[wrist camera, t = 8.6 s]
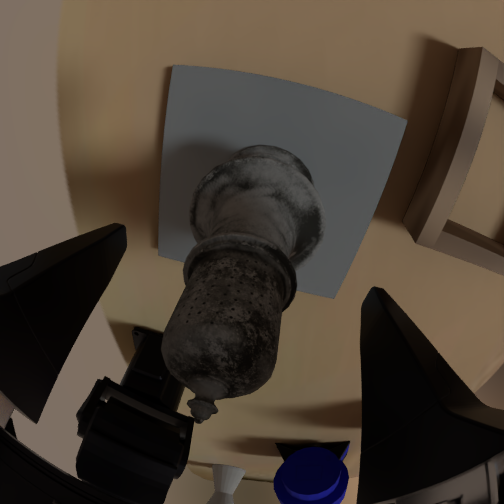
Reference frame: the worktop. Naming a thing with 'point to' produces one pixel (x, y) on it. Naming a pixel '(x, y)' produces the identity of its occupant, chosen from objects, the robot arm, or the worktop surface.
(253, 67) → the worktop surface
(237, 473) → the lava lamp
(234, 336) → the salt shaker
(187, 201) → the slate coaster
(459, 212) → the worktop surface
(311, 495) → the alarm clock
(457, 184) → the walnut holder
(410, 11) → the worktop surface
